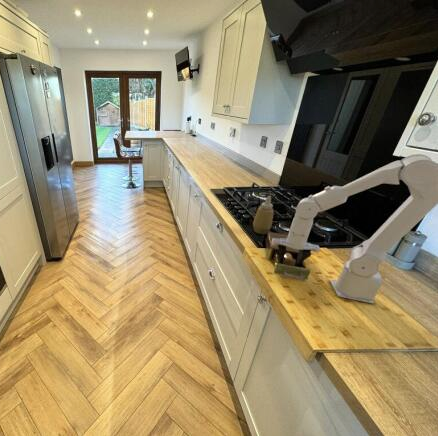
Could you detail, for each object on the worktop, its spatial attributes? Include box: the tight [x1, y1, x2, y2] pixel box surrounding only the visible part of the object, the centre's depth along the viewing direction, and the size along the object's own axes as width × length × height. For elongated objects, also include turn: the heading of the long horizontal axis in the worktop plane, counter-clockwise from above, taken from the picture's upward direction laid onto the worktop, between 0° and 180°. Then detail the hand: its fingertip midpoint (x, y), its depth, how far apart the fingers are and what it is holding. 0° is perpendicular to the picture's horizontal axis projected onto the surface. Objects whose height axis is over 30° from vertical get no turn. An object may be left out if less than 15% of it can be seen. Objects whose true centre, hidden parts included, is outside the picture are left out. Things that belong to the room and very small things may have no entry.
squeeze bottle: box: [252, 195, 275, 235], centre depth 109 cm, size 8×8×18 cm
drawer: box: [273, 250, 311, 282], centre depth 85 cm, size 17×10×4 cm, turn 161°
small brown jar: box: [283, 253, 296, 266], centre depth 86 cm, size 4×5×4 cm
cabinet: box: [264, 231, 299, 262], centre depth 96 cm, size 14×12×6 cm
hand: (288, 264), depth 87 cm, fingers closed on drawer, 5 cm apart
